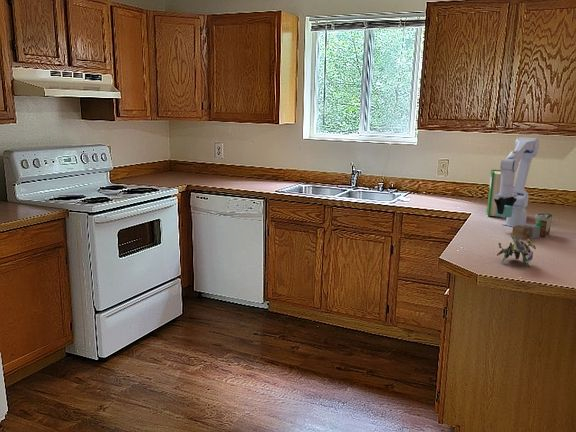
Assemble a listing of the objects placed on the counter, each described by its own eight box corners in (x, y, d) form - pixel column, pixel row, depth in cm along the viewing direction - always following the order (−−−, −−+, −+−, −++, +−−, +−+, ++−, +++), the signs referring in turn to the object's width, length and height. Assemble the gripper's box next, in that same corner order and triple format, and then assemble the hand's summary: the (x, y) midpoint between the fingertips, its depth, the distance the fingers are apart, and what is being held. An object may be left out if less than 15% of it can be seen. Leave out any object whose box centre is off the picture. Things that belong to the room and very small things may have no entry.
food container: (535, 231, 243) (538, 211, 241) (549, 234, 240) (552, 212, 238) (529, 236, 234) (532, 214, 232) (544, 238, 230) (547, 216, 228)
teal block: (502, 214, 246) (503, 204, 245) (511, 216, 242) (512, 206, 241) (495, 215, 243) (496, 205, 242) (504, 217, 239) (506, 207, 238)
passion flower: (525, 281, 188) (537, 259, 178) (490, 271, 191) (501, 249, 181) (528, 256, 196) (540, 233, 186) (495, 247, 199) (505, 224, 189)
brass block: (518, 236, 234) (519, 225, 233) (528, 238, 230) (529, 227, 229) (511, 237, 231) (512, 226, 230) (521, 239, 227) (523, 228, 226)
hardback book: (502, 218, 275) (507, 173, 270) (487, 216, 277) (492, 172, 272) (500, 212, 291) (505, 170, 286) (486, 211, 293) (491, 169, 289)
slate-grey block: (529, 235, 237) (531, 224, 236) (539, 237, 232) (540, 226, 231) (522, 236, 234) (523, 225, 233) (532, 238, 230) (533, 227, 229)
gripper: (504, 186, 233) (501, 216, 235) (524, 185, 240) (520, 213, 243) (491, 184, 238) (488, 213, 241) (510, 183, 246) (507, 210, 249)
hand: (503, 213), depth 242 cm, fingers closed on teal block, 5 cm apart
